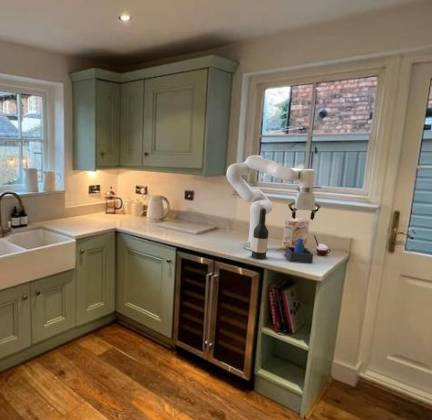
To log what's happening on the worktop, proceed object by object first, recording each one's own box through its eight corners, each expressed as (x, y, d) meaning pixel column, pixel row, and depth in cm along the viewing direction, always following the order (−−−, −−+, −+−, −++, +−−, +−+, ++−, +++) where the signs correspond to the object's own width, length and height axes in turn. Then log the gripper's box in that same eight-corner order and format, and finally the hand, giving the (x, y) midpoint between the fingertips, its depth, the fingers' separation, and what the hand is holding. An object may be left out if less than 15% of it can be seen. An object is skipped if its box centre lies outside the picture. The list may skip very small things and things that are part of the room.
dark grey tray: (290, 261, 210) (291, 252, 209) (285, 254, 223) (285, 246, 222) (312, 262, 207) (313, 254, 206) (305, 256, 220) (306, 248, 219)
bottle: (294, 259, 213) (296, 239, 211) (292, 256, 218) (294, 237, 216) (303, 260, 212) (306, 240, 210) (301, 257, 217) (303, 238, 214)
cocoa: (330, 254, 223) (332, 236, 221) (328, 257, 218) (331, 238, 216) (312, 252, 229) (315, 233, 227) (311, 254, 224) (313, 235, 222)
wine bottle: (248, 255, 219) (253, 207, 214) (261, 255, 220) (266, 207, 214) (255, 259, 211) (259, 209, 205) (268, 259, 212) (273, 209, 206)
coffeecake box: (290, 251, 230) (294, 221, 226) (281, 248, 236) (284, 219, 233) (306, 248, 236) (310, 219, 232) (297, 245, 242) (300, 217, 239)
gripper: (291, 190, 207) (288, 219, 210) (324, 191, 203) (321, 221, 206) (288, 189, 214) (285, 217, 217) (320, 190, 210) (316, 218, 213)
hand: (302, 219), depth 212 cm, fingers open, 9 cm apart
